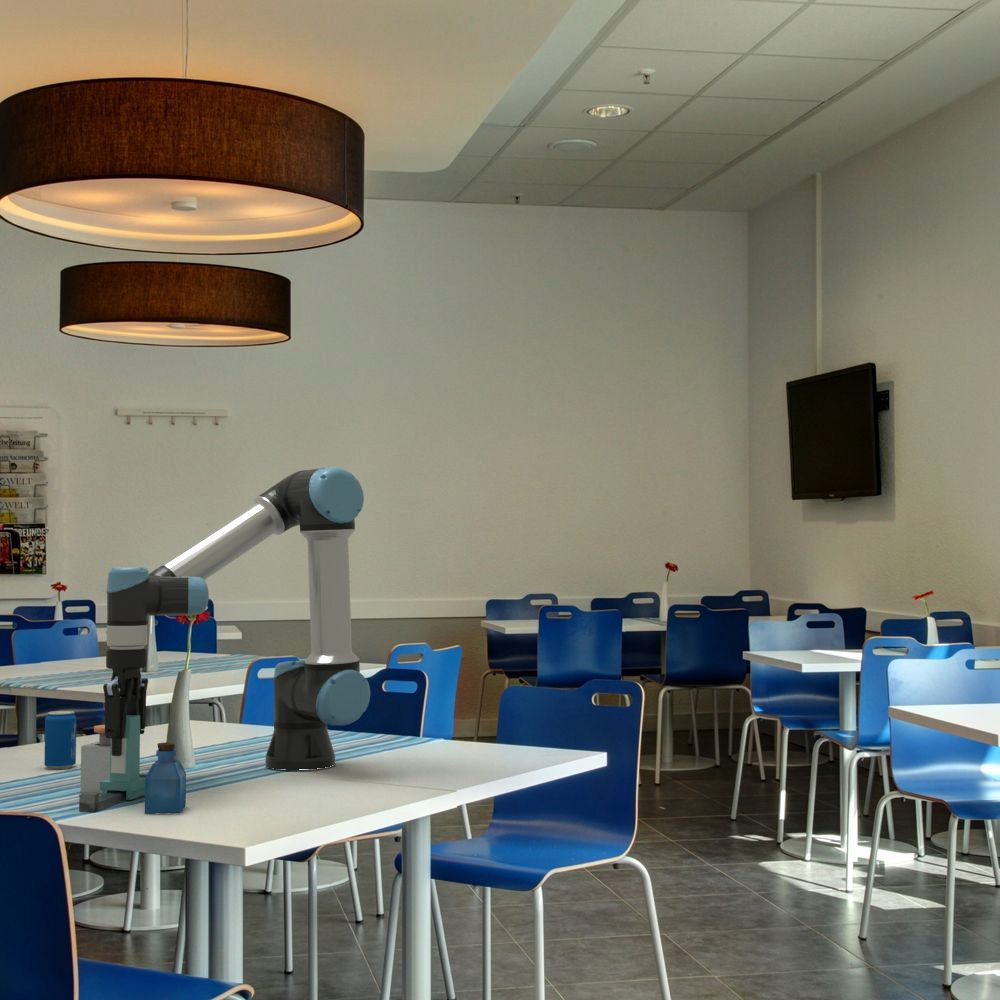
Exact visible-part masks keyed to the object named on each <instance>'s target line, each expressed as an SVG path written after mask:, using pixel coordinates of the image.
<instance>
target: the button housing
mask: <svg viewBox="0 0 1000 1000" xmlns="http://www.w3.org/2000/svg"><path fill="white" fill-rule="evenodd" d="M107 779H110V746H103V745H99V740H98V741H95V742H91V743H88V744H84V745H81V746H80V793H79V794H82V793H96V794H99V795H102V790H100V782H101V781H104V780H107Z"/></svg>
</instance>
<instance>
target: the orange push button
mask: <svg viewBox="0 0 1000 1000" xmlns="http://www.w3.org/2000/svg"><path fill="white" fill-rule="evenodd" d="M93 732H94V733H97V734H99V735H98V737H99V739H98V741H99V745H103V746H110V738H106V736H105V724H100V725H94V726H93Z"/></svg>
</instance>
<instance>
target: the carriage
mask: <svg viewBox="0 0 1000 1000" xmlns="http://www.w3.org/2000/svg"><path fill="white" fill-rule="evenodd" d="M124 738H127V753H126V773H111V750H112V738H110V779H107V780H104V781H101V782H100V790H102V794H101V795H103V794H106V793H109V792H112V791H115V790H116V791H127V794H126V800H125V801H127V800H130V801H131V800H134V799H137V798H140V797H143V796H145V778H139V774H140V769H141V768H140V765H141V764H140V762H141V760H140V759H141V758H140V757H141V755H140V752H141V751H140V750H141V734H140V715H127V716H126V725H125V734H124Z"/></svg>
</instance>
